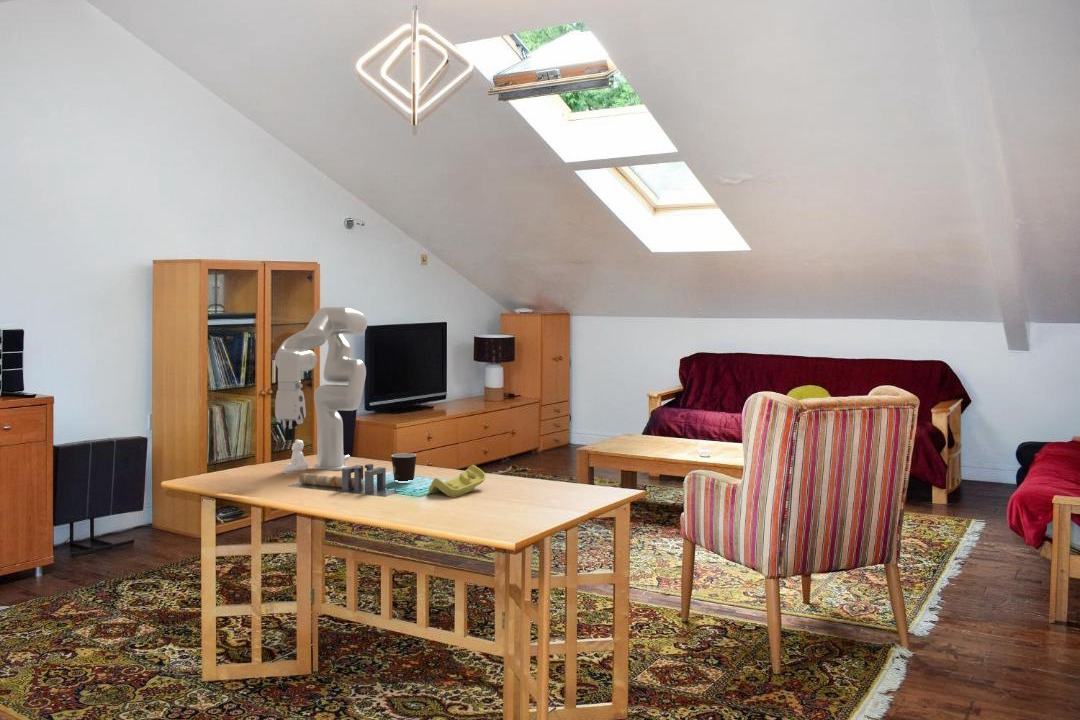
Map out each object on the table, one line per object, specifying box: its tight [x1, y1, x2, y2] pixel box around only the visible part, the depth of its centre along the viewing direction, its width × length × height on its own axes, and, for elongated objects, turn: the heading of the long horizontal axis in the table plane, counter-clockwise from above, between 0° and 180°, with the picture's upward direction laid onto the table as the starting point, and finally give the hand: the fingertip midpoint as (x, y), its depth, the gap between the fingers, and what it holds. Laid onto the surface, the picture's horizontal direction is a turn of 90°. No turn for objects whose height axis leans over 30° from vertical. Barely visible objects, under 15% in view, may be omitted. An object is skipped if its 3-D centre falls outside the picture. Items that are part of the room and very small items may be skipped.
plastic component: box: [428, 464, 487, 498], centre depth 321 cm, size 20×7×10 cm
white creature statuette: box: [283, 439, 309, 474], centre depth 357 cm, size 10×9×12 cm
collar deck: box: [287, 463, 403, 498], centre depth 321 cm, size 12×40×9 cm, turn 65°
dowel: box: [298, 472, 365, 489], centre depth 324 cm, size 24×4×4 cm, turn 65°
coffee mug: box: [390, 452, 417, 481], centre depth 334 cm, size 12×9×10 cm
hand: (290, 439), depth 330 cm, fingers closed
